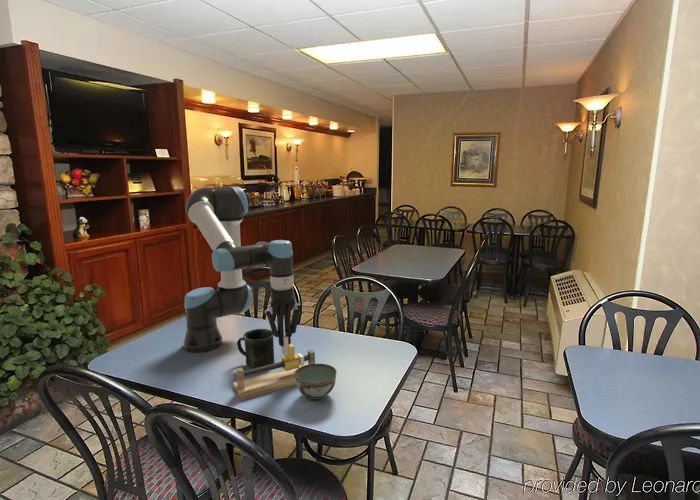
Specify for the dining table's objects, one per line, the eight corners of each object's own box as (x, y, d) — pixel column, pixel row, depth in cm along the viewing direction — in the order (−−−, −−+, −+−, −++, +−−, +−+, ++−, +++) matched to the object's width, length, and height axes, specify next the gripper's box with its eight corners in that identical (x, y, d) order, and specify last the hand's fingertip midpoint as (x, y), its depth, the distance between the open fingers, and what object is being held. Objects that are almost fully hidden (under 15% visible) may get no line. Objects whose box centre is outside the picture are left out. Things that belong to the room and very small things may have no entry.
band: (297, 362, 148) (296, 353, 148) (300, 361, 149) (300, 353, 148) (301, 365, 145) (300, 357, 145) (304, 365, 146) (303, 356, 145)
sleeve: (281, 366, 146) (280, 344, 144) (295, 363, 148) (294, 341, 147) (285, 371, 142) (284, 348, 141) (299, 367, 145) (298, 345, 143)
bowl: (342, 403, 130) (341, 379, 128) (299, 410, 126) (298, 386, 125) (331, 382, 143) (330, 360, 141) (292, 388, 139) (291, 366, 138)
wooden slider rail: (233, 386, 141) (231, 364, 139) (309, 365, 155) (308, 345, 153) (242, 400, 132) (240, 376, 131) (321, 377, 146) (320, 355, 145)
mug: (267, 373, 150) (265, 341, 148) (231, 368, 154) (229, 337, 152) (280, 359, 160) (279, 330, 158) (246, 355, 164) (244, 326, 162)
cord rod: (242, 375, 137) (241, 371, 137) (308, 358, 149) (308, 354, 149) (243, 377, 136) (243, 373, 136) (310, 359, 148) (310, 355, 148)
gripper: (267, 293, 132) (271, 362, 137) (305, 286, 139) (307, 353, 143) (259, 287, 139) (263, 354, 143) (295, 281, 145) (298, 345, 150)
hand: (285, 354), depth 143 cm, fingers closed
